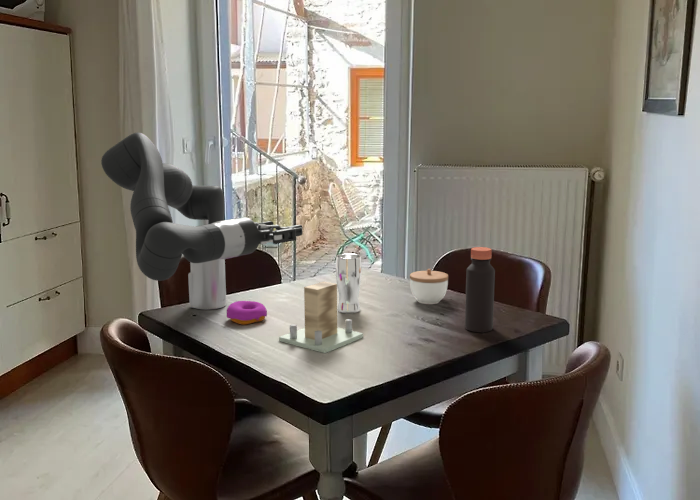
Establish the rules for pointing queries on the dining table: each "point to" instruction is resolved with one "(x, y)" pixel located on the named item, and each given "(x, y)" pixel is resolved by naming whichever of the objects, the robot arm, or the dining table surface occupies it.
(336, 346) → the peg stand
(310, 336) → the oak block
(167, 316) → the dining table surface
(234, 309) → the donut
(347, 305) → the shiny metal tumbler
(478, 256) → the bottle
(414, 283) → the lidded jar
